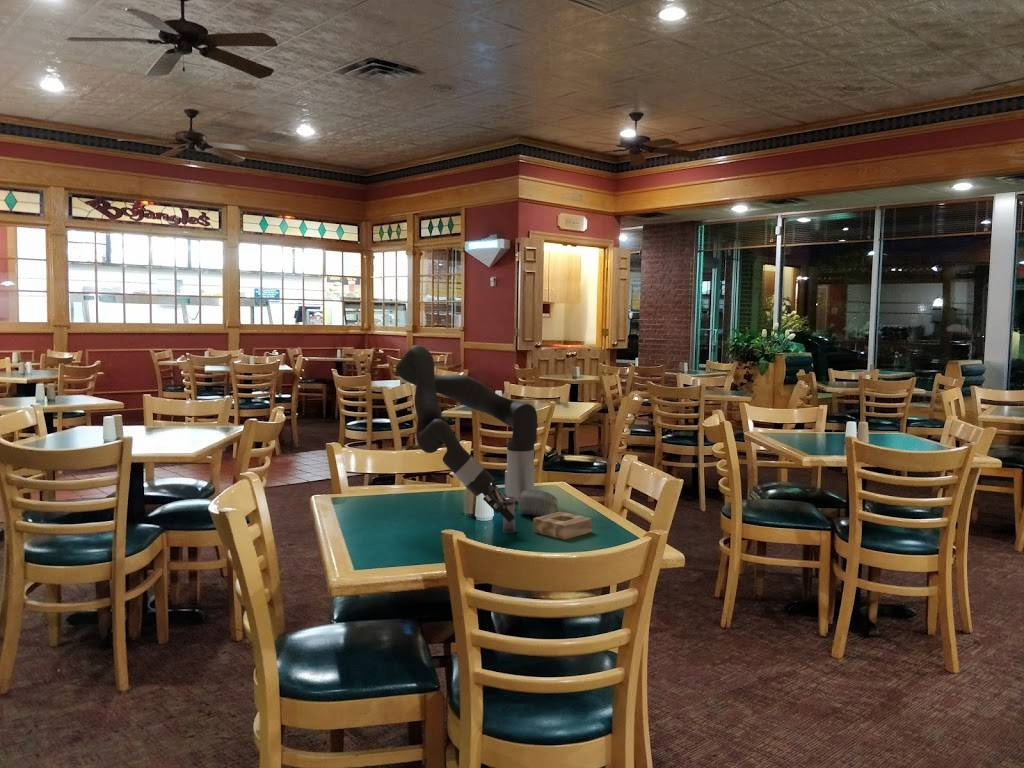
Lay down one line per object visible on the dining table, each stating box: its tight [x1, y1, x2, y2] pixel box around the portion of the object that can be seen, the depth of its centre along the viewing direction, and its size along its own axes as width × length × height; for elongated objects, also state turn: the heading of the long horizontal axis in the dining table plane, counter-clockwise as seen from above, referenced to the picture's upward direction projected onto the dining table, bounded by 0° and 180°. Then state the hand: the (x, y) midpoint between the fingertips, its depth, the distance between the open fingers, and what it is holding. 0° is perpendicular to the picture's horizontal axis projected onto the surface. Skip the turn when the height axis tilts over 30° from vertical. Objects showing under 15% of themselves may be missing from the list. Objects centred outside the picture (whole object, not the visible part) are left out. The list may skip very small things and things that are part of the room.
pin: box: [502, 496, 517, 534], centre depth 238 cm, size 4×4×10 cm
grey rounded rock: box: [517, 489, 559, 517], centre depth 257 cm, size 14×10×10 cm
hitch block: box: [532, 511, 593, 541], centre depth 239 cm, size 12×12×4 cm
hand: (513, 516), depth 238 cm, fingers open, 8 cm apart
